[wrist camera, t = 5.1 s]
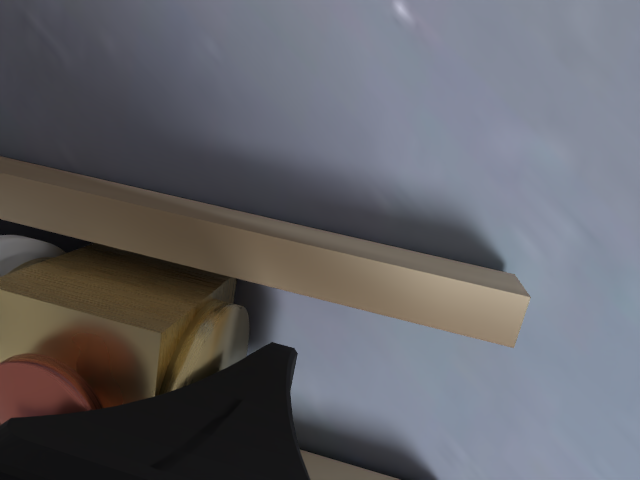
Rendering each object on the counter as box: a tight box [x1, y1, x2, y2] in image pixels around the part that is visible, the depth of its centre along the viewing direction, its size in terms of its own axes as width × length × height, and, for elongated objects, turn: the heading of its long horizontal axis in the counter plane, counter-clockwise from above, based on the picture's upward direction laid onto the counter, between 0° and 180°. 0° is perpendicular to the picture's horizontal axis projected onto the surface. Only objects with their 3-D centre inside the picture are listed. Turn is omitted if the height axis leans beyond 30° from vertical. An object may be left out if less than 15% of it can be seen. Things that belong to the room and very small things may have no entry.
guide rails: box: [0, 156, 531, 480], centre depth 13 cm, size 8×17×2 cm, turn 80°
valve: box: [0, 243, 249, 425], centre depth 11 cm, size 5×4×5 cm
